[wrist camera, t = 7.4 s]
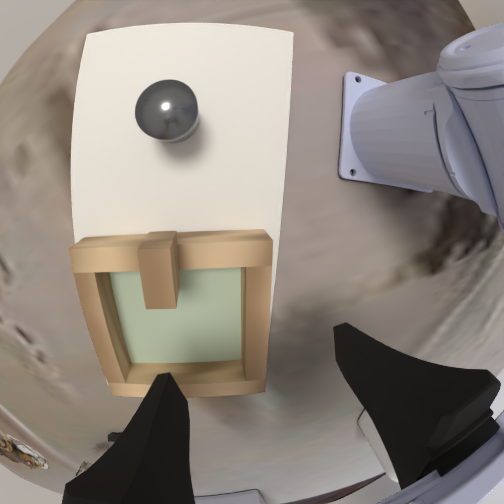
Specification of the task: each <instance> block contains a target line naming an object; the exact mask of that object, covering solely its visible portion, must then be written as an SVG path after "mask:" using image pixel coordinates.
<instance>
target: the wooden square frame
mask: <svg viewBox="0 0 504 504" xmlns="http://www.w3.org/2000/svg"><path fill="white" fill-rule="evenodd" d="M69 253H70V258H71V263H72V268H73V273H74V278H75V282H76V286H77V290H78V294H79V298H80V302H81V306H82V310H83V313H84V317H85V320H86V323H87V327H88V330H89V333H90V336H91V339H92V342H93V345H94V348H95V351H96V354H97V357H98V359H99V362H100V365H101V367H102V370H103V372H104V375H105V377H106V380H107V382H108V385H109V387H110V389H111V392H112V394H113V395H116V396H131V397H145V396H146V394H147V392H148V390H149V388H150V387H151V385H152V383H153V381H154V379H155V378H156V376H157V374H162V373H168V372H170V373H171V375H172V376H173V378H174V380H175V381H176V383H177V385H178V386H179V388H180V390H181V391H182V393H183V395H184V396H185V398H188V397H215V396H230V395H242V394H252V393H261V392H265V388H266V373H267V357H268V340H269V322H270V302H271V281H272V258H273V240H272V238H271V237H270V236H269V235H268V233H267V232H266V231H265V230H264V229H254V230H221V231H194V232H177V231H155V232H149V233H148V234H129V235H112V236H95V237H84V238H83V239H81V240H80V241H79V242H77V243H76V244H75V245H74V246H72V247H71V248H70V249H69ZM234 267H241V360H230V361H214V362H190V363H132V362H131V361H130V358H129V354H128V351H127V347H126V344H125V340H124V336H123V333H122V329H121V325H120V321H119V317H118V312H117V308H116V303H115V299H114V294H113V289H112V284H111V279H110V273H109V272H128V271H140V276H141V283H142V289H143V296H144V302H145V307H146V309H176V307H177V301H178V294H179V288H180V282H181V281H180V270H186V269H211V268H234Z"/></svg>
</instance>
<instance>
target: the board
mask: <svg viewBox="0 0 504 504" xmlns="http://www.w3.org/2000/svg"><path fill="white" fill-rule="evenodd" d="M292 55H293V32H288V31H282V30H276V29H270V28H262V27H255V26H245V25H234V24H219V23H168V24H153V25H142V26H133V27H125V28H118V29H112V30H106V31H101V32H96V33H91V34H87V37H86V41H85V46H84V50H83V55H82V60H81V65H80V70H79V76H78V82H77V89H76V97H75V105H74V115H73V127H72V144H71V197H72V215H73V227H74V237H75V244H76V243H77V242H79V241H80V239H83V238H84V237H95V236H112V235H129V234H148V233H149V232H155V231H177V232H194V231H221V230H254V229H264V230H265V231H266V232H267V233H268V235H269V236H270V237H271V238H272V240H273V258H272V281H271V302H270V321H271V312H272V303H273V294H274V285H275V276H276V266H277V256H278V246H279V236H280V225H281V214H282V203H283V191H284V179H285V167H286V154H287V140H288V125H289V110H290V93H291V75H292ZM167 79H173V80H178V81H181V82H183V83H185V84H186V85H188V86H189V87H190V88H191V89H192V90H193V92H194V94H195V96H196V99H197V104H198V111H199V124H198V127H197V129H196V131H195V132H194V134H193V135H192V136H191V137H190V138H188V139H187V140H185V141H183V142H180V143H166V142H164V141H161V140H158V139H156V138H153V137H150V136H148V135H147V134H145V133H144V132H143V131H142V130H141V129H140V128H139V126H138V124H137V122H136V118H135V106H136V103H137V100H138V98H139V96H140V95H141V93H142V92H143V91H144V90H145V89H146V88H147V87H148V86H150V85H151V84H153V83H155V82H158V81H161V80H167ZM269 329H270V322H269ZM105 378H106V377H105ZM106 381H107V380H106ZM107 384H108V382H107Z"/></svg>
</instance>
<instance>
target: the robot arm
mask: <svg viewBox="0 0 504 504" xmlns="http://www.w3.org/2000/svg"><path fill="white" fill-rule="evenodd" d="M355 77H356V78H357V79H358V80H359V82H356V80H355ZM351 169H353V172H354V173H353V175H352V176H351V175H350V170H351ZM338 171H339V175H340V176H341V177H342V178H345V179H352V180H359V181H366V182H372V183H379V184H385V185H391V186H396V187H402V188H407V189H413V190H418V191H423V192H428V193H431V192H432V191H433V190H436V191H440V192H444V193H447V194H451V195H455V196H459V197H462V198H466V199H469V200H473V201H475V202H476V203H477V204H478V205H479V207H480V209H481V211H482V212H484V213H487V214H490V215H492V216H495V217H497V218H498V222H499V226H500V229H501V231H502V234H503V235H504V23H500V24H495V25H491V26H487V27H484V28H481V29H478V30H475V31H473V32H470V33H468V34H466V35H464V36H462V37H460V38H458V39H456V40H455V41H453V42H451V43H450V44H449V45H447V46H446V47H445V48H444V49H443V50H442V52H441V54H440V59H439V62H438V64H437V71H436V72H431V73H427V74H423V75H418V76H414V77H410V78H407V79H403V80H399V81H396V82H392V83H389V84H388V83H385V82H382V81H379V80H376V79H373V78H370V77H367V76H364V75H361V74H358V73H354V72H347V73H345V75H344V89H343V115H342V132H341V147H340V159H339V170H338ZM333 329H334V341H335V356H336V362H337V364H338V366H339V368H340V370H341V372H342V374H343V376H344V378H345V380H346V381H347V383H348V384H349V386H350V387H351V389H352V390H353V392H354V393H355V395H356V396H357V398H358V399H359V401H360V402H361V404H362V405H363V407H364V408H365V410H366V411H367V413H368V414H369V416H370V418H371V419H372V421H373V423H374V425H375V427H376V429H377V431H378V434H379V436H380V438H381V440H382V442H383V444H384V446H385V449H386V451H387V453H388V456H389V458H390V461H391V463H392V465H393V468H394V471H395V473H396V476H397V479H398V482H399V484H400V487H401V491H399V492H397V493H395V494H393V495H392V496H389V497H388V498H385V499H383V500H381V501H379V502H377V503H375V504H409V503H411V502H412V504H478V503H479V502H480V501H482V500H483V498H485V497H486V496H487V495H488V494H489V493H490V492H491V491H492V490H494V489H495V488H496V487H497V486H498V485H499V484H500V483H501V482H502V481H503V480H504V411H503V412H502V413H501V414H500V415H499V416H498V417H497V418H496V419H495V420H494V419H493V418H492V417H491V416H492V415H493V411H492V410H491V409H490V406H491V404H492V402H493V401H494V399H495V397H496V396H497V394H498V392H499V390H500V386H501V383H500V381H499V380H498V379H497V378H496V377H495V376H494V375H493V374H492V373H491V372H489V371H488V370H483V369H463V368H455V367H449V366H443V365H439V364H435V363H430V362H427V361H423V360H420V359H417V358H415V357H412V356H409V355H406V354H404V353H401V352H399V351H397V350H395V349H393V348H391V347H389V346H387V345H385V344H383V343H381V342H379V341H377V340H375V339H374V338H372V337H370V336H368V335H367V334H365V333H363V332H362V331H360V330H358V329H357V328H355V327H353V326H352V325H350V324H348V323H343V324H340V325H338V326H335V327H333ZM189 440H190V419H189V409H188V401H187V399H186V398H185V396H184V395H183V393H182V391H181V390H180V388H179V386H178V385H177V383H176V381H175V380H174V378H173V376H172V375H171V373H170V372H168V373H162V374H157V376H156V378H155V379H154V381H153V383H152V385H151V387H150V388H149V390H148V392H147V394H146V396H145V397H144V399H143V401H142V403H141V404H140V406H139V408H138V410H137V411H136V413H135V414H134V416H133V417H132V419H131V421H130V422H129V424H128V425H127V427H126V428H125V430H124V431H123V432H122V434H121V435H120V436H119V437H118V439H117V440H116V441H115V442H114V444H113V445H112V446H111V447H110V448H109V449H108V450H107V451H106V452H105V453H104V454H103V455H102V456H101V457H100V458H99V459H98V460H97V461H96V462H95V463H94V464H93V465H92V466H90V467H89V468H88V469H87V470H85V471H84V472H83V473H81V474H80V475H79V476H77V477H76V478H74V479H73V480H71V481H70V482H68V483H66V485H65V490H64V495H63V500H62V504H195V499H194V494H193V488H192V482H191V475H190V465H189Z"/></svg>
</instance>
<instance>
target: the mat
mask: <svg viewBox="0 0 504 504" xmlns="http://www.w3.org/2000/svg"><path fill="white" fill-rule="evenodd" d="M80 240H81V239H80ZM109 273H110V279H111V284H112V289H113V294H114V299H115V303H116V308H117V312H118V317H119V321H120V325H121V329H122V333H123V336H124V340H125V344H126V347H127V351H128V354H129V358H130V361H131V362H132V363H190V362H214V361H230V360H241V267H234V268H211V269H186V270H180V281H181V282H180V288H179V294H178V301H177V307H176V309H146V307H145V302H144V296H143V289H142V283H141V276H140V271H128V272H109Z"/></svg>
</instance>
